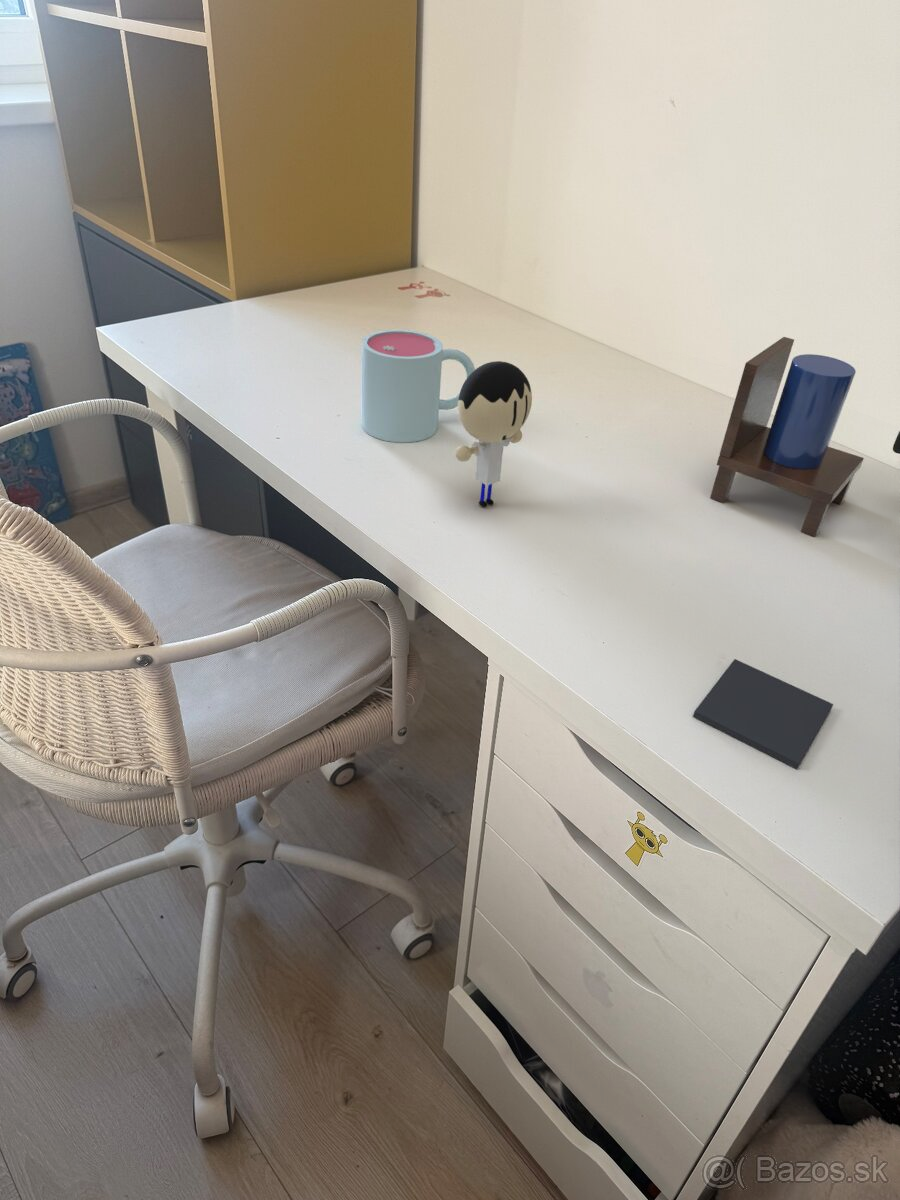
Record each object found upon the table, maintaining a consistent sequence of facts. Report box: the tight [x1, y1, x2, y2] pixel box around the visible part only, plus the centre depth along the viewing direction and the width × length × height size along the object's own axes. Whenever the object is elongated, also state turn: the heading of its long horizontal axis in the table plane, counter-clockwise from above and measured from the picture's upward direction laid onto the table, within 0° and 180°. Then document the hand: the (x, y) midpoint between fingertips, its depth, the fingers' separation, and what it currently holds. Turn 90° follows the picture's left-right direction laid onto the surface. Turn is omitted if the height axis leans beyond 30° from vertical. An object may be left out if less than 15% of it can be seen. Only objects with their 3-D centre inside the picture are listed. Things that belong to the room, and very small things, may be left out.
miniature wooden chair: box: [709, 336, 865, 538], centre depth 86 cm, size 12×11×15 cm
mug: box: [361, 329, 476, 444], centre depth 97 cm, size 14×9×10 cm
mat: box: [692, 658, 834, 770], centre depth 63 cm, size 8×8×1 cm
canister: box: [764, 353, 857, 469], centre depth 85 cm, size 6×6×10 cm
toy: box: [455, 360, 533, 508], centre depth 81 cm, size 9×7×15 cm
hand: (899, 424), depth 81 cm, fingers open, 8 cm apart
